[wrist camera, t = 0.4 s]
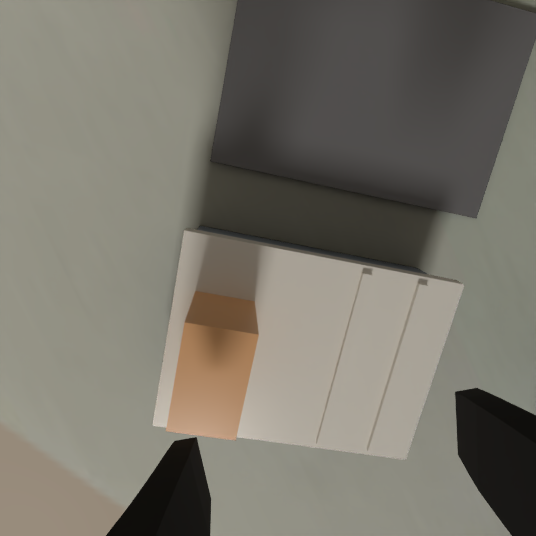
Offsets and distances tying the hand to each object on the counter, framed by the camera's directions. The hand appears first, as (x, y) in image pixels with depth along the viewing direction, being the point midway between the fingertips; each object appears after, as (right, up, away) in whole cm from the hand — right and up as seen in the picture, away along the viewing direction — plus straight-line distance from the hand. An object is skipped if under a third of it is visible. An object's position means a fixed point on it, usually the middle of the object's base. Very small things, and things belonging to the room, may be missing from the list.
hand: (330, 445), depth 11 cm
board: (+3, +13, +7) cm, 15 cm away
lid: (0, +2, +8) cm, 8 cm away
